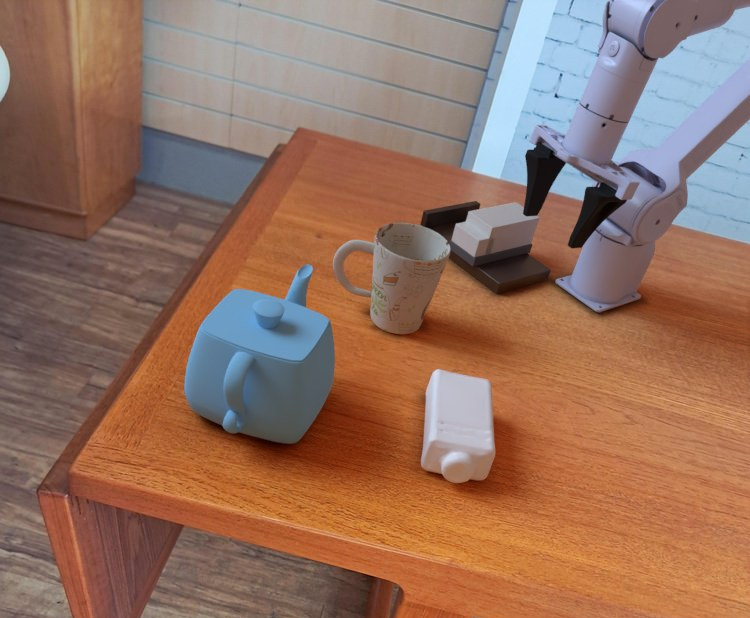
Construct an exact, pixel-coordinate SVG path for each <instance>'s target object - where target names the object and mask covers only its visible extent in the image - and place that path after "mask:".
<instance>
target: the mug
mask: <svg viewBox="0 0 750 618" xmlns="http://www.w3.org/2000/svg"><path fill="white" fill-rule="evenodd" d="M420 225H421V224H415V223H409V222H391V223H387V224H384V225H382V226H380V227H379V228H378V229H377V230H376V232H375V235H374V241H373V242H371V241H367V240H363V239H351V240H349V241H346V242H345V243H343V244H342V245H341V246H339V248H338V249H337V250H336V252H335V254H334V256H333V260H332V270H333V274H334V277H335V279H336V280H337V282H338V283H339V284H340V285H341V286H342V288H343V289H345V290H346V291H347V292H349V293H350V294H352V295H354V296H358V297H363V298H369V299H370V310H369V311H370V312H369V313H370V314H369V315H370V320H371V321H372V323H373V325H375V326H376V327H377V328H379V329H381V331H382V330H383V331H384V332H388V333H390V334H395V335H409V334H413V333H415V332H417V331H418V330H419V329H420V327H422V326H421V325H422V323H423V321H424V319H425V316H426V314H427V311H428V309H429V306H430V304H431V302H432V299H433V297H434V294H435V292H436V289H437V287H438V285H439V282H440V280H441V278H442V276H443V273H444V270H445V268H446V265H447V263H448V261H449V259H450V258H449V255H450V250H451V248H450V245H449V243H448V242H447V240H446V239H445V238H444V237H443V236H441V235H440V234H438V233H437V232H435V231H433V230H431V229H429V228H426V227H423V226H420ZM354 252H361V253H366V254H369V255H372V257H373V260H372V276H371V277H372V278H371V290H369V289H364V288H362V287H358V286H357V287H356V286H354V285H353V283H351V281H349V278H348V277H347V275H346V273H345V268H344V264H345V261H346V259H347V257H349V256H350V255H351V254H353V253H354Z"/></svg>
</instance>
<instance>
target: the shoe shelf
mask: <svg viewBox="0 0 750 618" xmlns="http://www.w3.org/2000/svg"><path fill="white" fill-rule="evenodd" d="M478 209H481V203H480V202H478V201H477V200H474V201H467V202H463V203H457V204H451V205H445V206H442V207H436V208H430V209H426V210H423V212H422V215H421V220H420V224H419V225H420V226H423V227H426V228H429V229H431V230H433V231H435V232H437V233H438V234H440V235H441V236H443V237H444V238H445V239H446V240H447V242H448V243H450V240H452V236H453V232H454V229H455V225H456V224H457V223H462V222H466V219H467V215H468V212H469V211H473V210H478ZM448 259H450V260H451V261H452V262H454V264H456V265H457V266H459V267H460V268H461V269H463V270H464V271H466V272H467V273H468V274H469V275H471V276H472V277H473V278H475V279H476V280H477V281H478V282H480V283H481V284H483V285H484V286H485V287H487V288H488V289H489V290H491V291H492V292H493V293H494V294H498V295H499V294H501V293H505V292H508V291H511V290H515V289H518V288H522V287H526V286H529V285H533V284H536V283H540V282H543V281H547V280H549V277H550V276H551V275H550V274H551V271H552V269H551V268H550V267H548V266H547V265H545V264H544V263H543V262H541V261H540V260H538V258H537V259H536V258H535V257H534V256H533V255H531V254H530V253H526V254H522V255H518V256H514V257H510V258H506V259H502V260H498V261H494V262H490V263H486V264H482V265H478V266H474V267H473V266H471V265H470V264H469V263H467V262H466V261H465V260H463V259H462V258H461V257H459V256H458V255H457V254H455V253H454V252H453V251H451V250H450V255H449V258H448Z"/></svg>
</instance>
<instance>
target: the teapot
mask: <svg viewBox="0 0 750 618" xmlns="http://www.w3.org/2000/svg"><path fill="white" fill-rule="evenodd" d="M313 271H314V268H313V266H312V264H309V263H307V264H304V265H302V266H301V267H300V268H299V269H298V270H297V271H296V273H295V275H294V278H293V280H292V282H291V285H290V287H289V289H288V291H287V293H286V296H285V298H281V297H277V296H275V295H274V296H273V295H270V294H266V293H262V292H258V291H255V290H249V289H246V288H245V289H244V288H234V289H232V290H231V291H230V292H229V293H227V294H226V295H225V296H224V297H223V298H222V300H220V301H219V303H218V304H217V305H216V306H214V308H213V309H212V310H211V311H210V312H209V314H208V315H206V317H205V318H204V319H203V321H202V322H201V324H200V325H199V328H198V331H197V332H196V335H195V338H194V341H193V343H192V346H191V349H190V353H189V356H188V360H187V364H186V369H185V376H184V384H183V385H184V387H183V388H184V390H183V391H184V396H185V399H186V401H187V403H188V406H189V407H190V409H191V410H192V411H193V412H195V413H196V414H197V415H199V416H201V417H203V418H204V419H207V420H208V421H211V422H212V423H215V424H217V425H220V426H222V428H223V429H224V430H225V432H227V433H229V434H238V433H241V434H243V435H248V436H250V437H255V438H258V439H262V440H265V441H266V440H267V441H271V442H275V443H279V444H280V443H281V444H288V445H289V444H296V443H298V442H299V441H300V440H302V438H303V436H304V435H305V434H306V433H307V431H308V430H309V429H310V427H311V425H313V423H314V421H315V420H316V418H317V417H318V416H319V414H320V412H321V410H322V409H323V407H324V405H325V403H326V401H327V399H328V397H329V394H330V392H331V390H332V388H333V384H334V377H335V368H336V367H335V365H336V364H335V363H336V355H335V354H336V350H335V340H334V334H333V326H332V322H331V320H330V319H329V318H328V317H327V316H325V315H324V314H322V313H320V312H318V311H315V310H313V309H311V308H308V307H307V295H308V287H309V283H310V280H311V278H312V275H313Z"/></svg>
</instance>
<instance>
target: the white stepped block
mask: <svg viewBox="0 0 750 618" xmlns="http://www.w3.org/2000/svg"><path fill="white" fill-rule="evenodd" d="M523 210H524V205H521V204H519V202H517V201H514V202H509V203H505V204H500V205H499V204H498V205H494V206H489V207H484V208H479V209H478V210H473V211H469V212H468V215H467V219H466V222H462V223H457V224H456V225H455V229H454V232H453V236H452V240H450V243H449V245H450V248H451V251H453V252H454V253H455V254H457V255H458V256H459V257H461V258H462V259H463V260H465V261H466V262H467V263H469V264H470V265H471V266H473V267H474V266H478V265H482V264H486V263H490V262H494V261H498V260H502V259H506V258H510V257H514V256H518V255H522V254H526V253H528V254H530V253H531V250H532V248H533V244H532V241H533V239H534V236H535V232H536V229H537V227H538V224H539V221H540V217H539V216H538V215H537V216H525V215H523Z"/></svg>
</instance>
